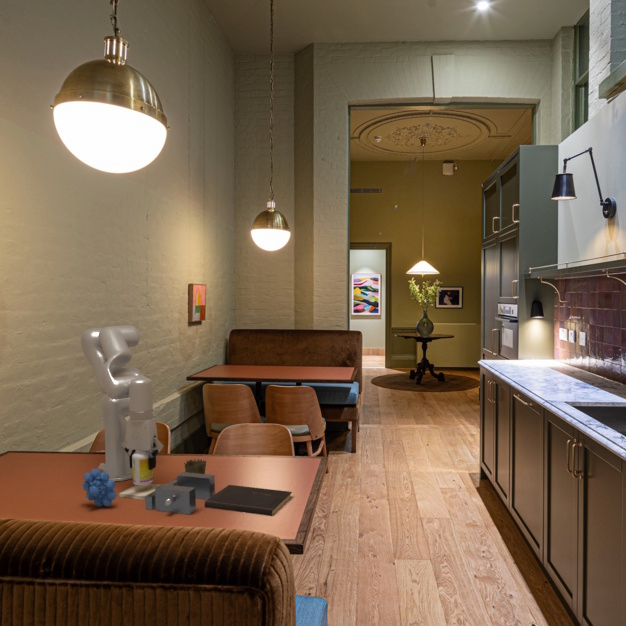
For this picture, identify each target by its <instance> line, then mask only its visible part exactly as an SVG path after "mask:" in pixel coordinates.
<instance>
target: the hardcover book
mask: <svg viewBox="0 0 626 626" xmlns="http://www.w3.org/2000/svg"><path fill="white" fill-rule="evenodd" d="M292 493H293V492H292V491H289V490H280V489H271V488H270V489H269V488H263V487H262V488H261V487H254V486H253V487H251V486H243V485H235V484H228V485H227V486H225V487H224V488H223V489H221V490H219V491H218V492H217V493H215V495H214V496H212V497H211V498H209V499H208V500H205V501H204V508H208V509H214V510H222V511H231V512H236V513H238V512H239V513H244V512H245V513H246V514H253V515H259V516H266V517H267V516H269V517H273V515H274V514H275V513H276V512H277V511H278V510H279V509H280V508H281V507H282V506H283V505H284V504H286V503H287V501H289V500H290V498H291V497H292V496H291V494H292ZM245 513H244V514H245Z"/></svg>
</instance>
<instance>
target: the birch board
mask: <svg viewBox="0 0 626 626" xmlns="http://www.w3.org/2000/svg"><path fill="white" fill-rule="evenodd" d="M159 485H160V484H158V483H150V484H147V485H135V484H134V485H133V486H130V487H129V488H126V489H125V490H123V491H121V492H119V494H118V497H119V498H123V497H126V498H125V499H132V498H133V499H134V500H141V501H145V496H147V495H148V494H150V493H152V492H153V491H155V488H156V487H158V486H159Z"/></svg>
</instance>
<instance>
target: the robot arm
mask: <svg viewBox="0 0 626 626" xmlns="http://www.w3.org/2000/svg"><path fill="white" fill-rule="evenodd" d="M140 339H141V337H140V333H139V330H138V329H137V328H136V327H135V326H134V325H127V324H126V325H111V326H110V325H109V326H105V327H93V328H88V329H86V330H84V331H83V332H82V334H81V336H80V345H81V350H82V352H83V354H84V357H85V358H86V360H87V361H88V362H89V364H90V366H91V368H92V370H93V373H94V377H95V379H96V382H97V385H98V388H99V390H100V392H102V393H103V394H104V395H103V396H102V398H101V402H100V405H101V412H102V418H103V425H104V447H105V449H104V452H105V454H104V456H105V462H100V464H99V465H98V467H97V469H98V470H99V471H102V472H106V473H108V475H109V480H112V481H114V482H116V481H117V482H123V481H124V482H125V481H127V480H131V479H133V470H132V455H133V453H135V452H136V450H141V451H147V452H148V454H149V456H150V458H148V468H149V470H152V469H153V470H154V469H155V468H156V467H157V456H158V454H159V453H160V452H161V451H162V449H163V448H164V446H165V445H164V444H163V443H162V442H161V441H160V440H159V439H158V429H157V423H156V419H155V418H154V404H153V403H154V399H153V397H154V396H153V381H152V379H151V378H148V377H146V376H145V375H143V374H142V372H141V371H140V370H139V369H138V368H137V367H134V366H127V365H128V364H129V363H130V362H131V360H132V358H133V357H132V355H133V354H132V352H131V350H130V348H134V347H135V348H136V346H138V345H139V343H140ZM125 366H126V367H125ZM126 417H129V418H128V419H126Z"/></svg>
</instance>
